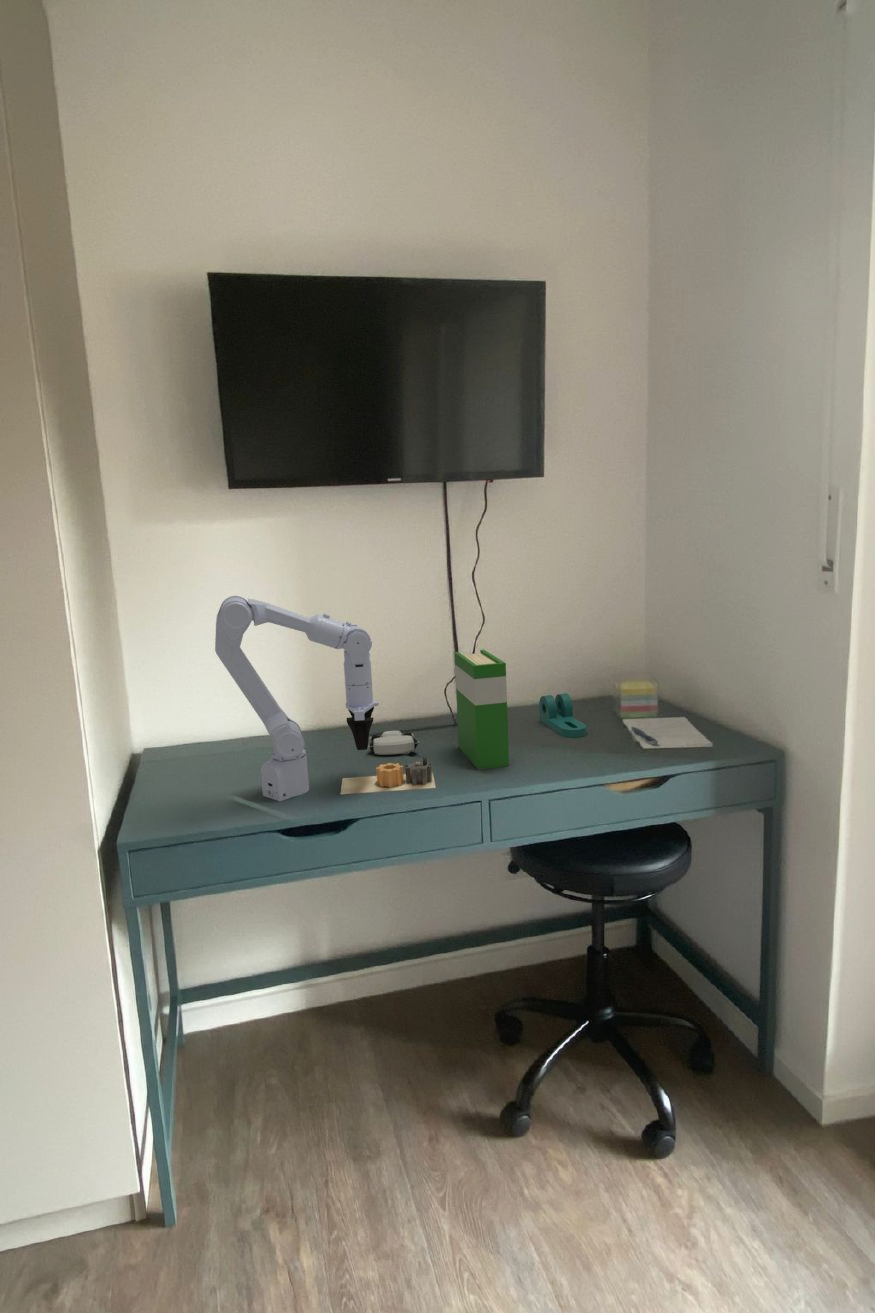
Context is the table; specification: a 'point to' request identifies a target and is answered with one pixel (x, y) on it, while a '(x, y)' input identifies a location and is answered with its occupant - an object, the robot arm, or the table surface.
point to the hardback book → (482, 709)
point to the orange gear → (389, 774)
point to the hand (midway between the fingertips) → (362, 744)
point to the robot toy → (393, 743)
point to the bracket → (560, 716)
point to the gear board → (413, 779)
